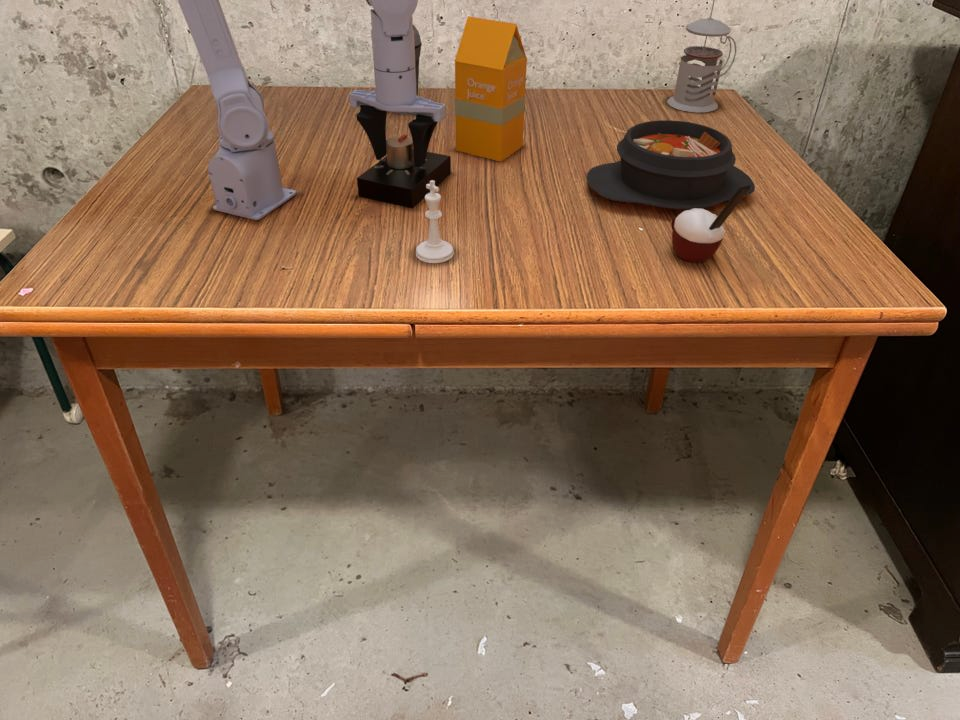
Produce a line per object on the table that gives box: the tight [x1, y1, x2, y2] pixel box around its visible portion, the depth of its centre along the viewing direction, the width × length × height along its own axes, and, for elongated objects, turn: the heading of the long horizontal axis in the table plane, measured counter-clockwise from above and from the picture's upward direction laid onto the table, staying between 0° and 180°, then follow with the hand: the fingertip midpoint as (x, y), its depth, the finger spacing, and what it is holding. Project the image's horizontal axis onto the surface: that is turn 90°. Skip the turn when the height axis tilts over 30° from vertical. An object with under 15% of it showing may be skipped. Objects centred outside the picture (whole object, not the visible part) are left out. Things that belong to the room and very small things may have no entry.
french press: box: [666, 0, 737, 113], centre depth 127 cm, size 10×12×25 cm
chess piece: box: [415, 180, 455, 264], centre depth 86 cm, size 5×5×10 cm
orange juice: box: [454, 15, 528, 163], centre depth 110 cm, size 8×9×20 cm
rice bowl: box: [670, 185, 751, 263], centre depth 85 cm, size 10×6×12 cm, turn 6°
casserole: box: [586, 119, 756, 210], centre depth 101 cm, size 25×19×8 cm
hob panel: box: [356, 148, 452, 209], centre depth 104 cm, size 13×10×3 cm
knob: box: [386, 134, 414, 169], centre depth 102 cm, size 4×4×4 cm
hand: (400, 160), depth 103 cm, fingers open, 6 cm apart
